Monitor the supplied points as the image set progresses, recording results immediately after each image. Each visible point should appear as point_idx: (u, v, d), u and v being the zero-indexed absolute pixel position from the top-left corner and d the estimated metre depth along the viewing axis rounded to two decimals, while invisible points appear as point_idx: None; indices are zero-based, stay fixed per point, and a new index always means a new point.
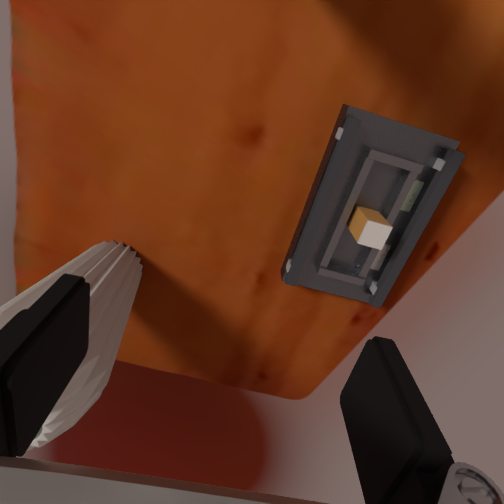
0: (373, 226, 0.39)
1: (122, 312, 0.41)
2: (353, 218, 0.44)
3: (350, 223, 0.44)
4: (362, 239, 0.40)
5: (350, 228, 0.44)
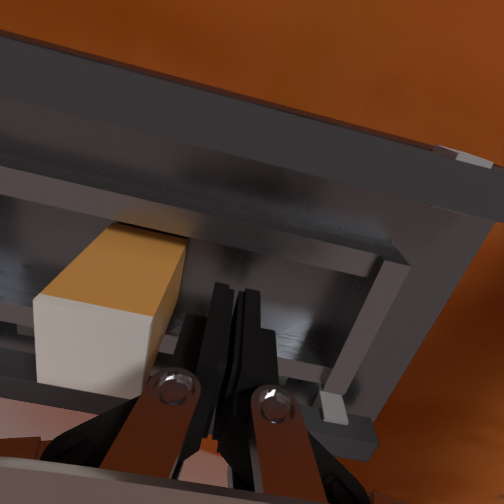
0: (128, 344, 0.09)
1: None
2: (142, 239, 0.13)
3: (123, 231, 0.13)
4: (59, 314, 0.09)
5: (105, 238, 0.12)
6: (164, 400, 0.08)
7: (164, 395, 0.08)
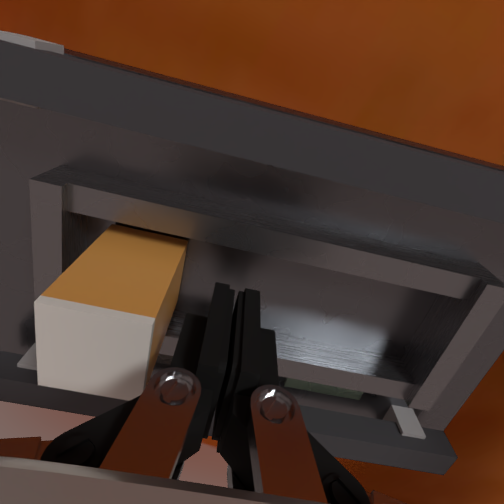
0: (130, 345, 0.09)
1: None
2: (142, 241, 0.13)
3: (123, 233, 0.13)
4: (61, 315, 0.09)
5: (105, 239, 0.12)
6: (164, 400, 0.08)
7: (164, 395, 0.08)
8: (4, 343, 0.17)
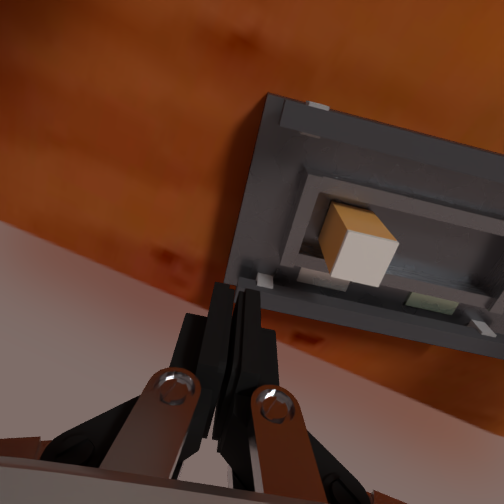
0: (384, 254, 0.20)
1: None
2: (354, 210, 0.23)
3: (342, 206, 0.23)
4: (358, 238, 0.19)
5: (338, 208, 0.23)
6: (164, 400, 0.08)
7: (164, 395, 0.08)
8: (235, 275, 0.27)
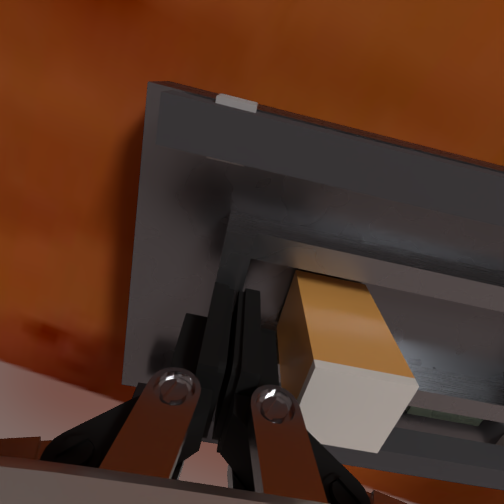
0: (389, 404, 0.10)
1: None
2: (333, 288, 0.13)
3: (312, 280, 0.14)
4: (335, 379, 0.09)
5: (305, 289, 0.13)
6: (164, 400, 0.08)
7: (164, 395, 0.08)
8: (139, 374, 0.17)
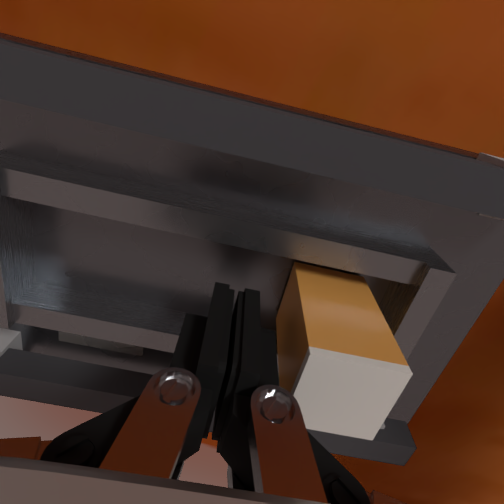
0: (384, 391, 0.10)
1: None
2: (331, 280, 0.13)
3: (311, 272, 0.14)
4: (330, 365, 0.10)
5: (303, 280, 0.13)
6: (164, 400, 0.08)
7: (164, 395, 0.08)
8: None
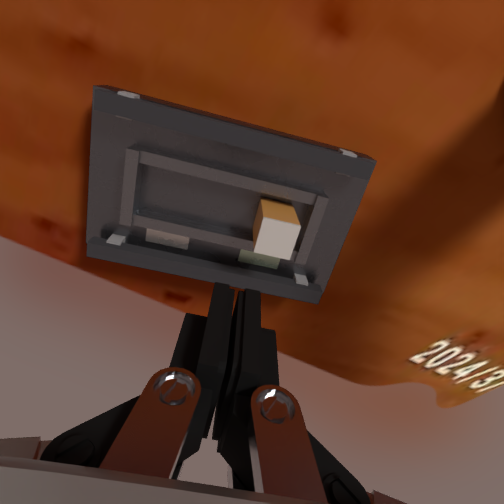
0: (291, 235, 0.27)
1: None
2: (276, 203, 0.30)
3: (268, 200, 0.30)
4: (271, 223, 0.26)
5: (264, 202, 0.30)
6: (164, 400, 0.08)
7: (164, 395, 0.08)
8: (95, 236, 0.33)
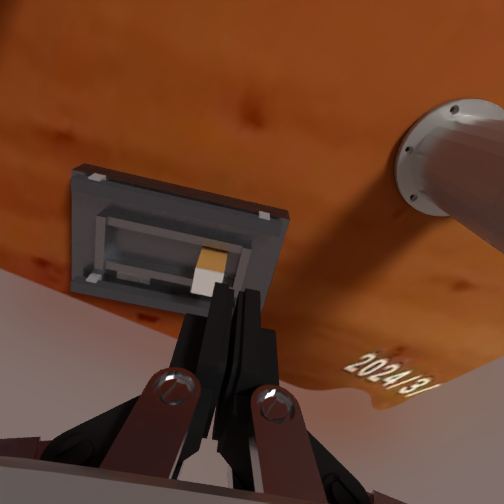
0: (217, 280, 0.36)
1: None
2: (213, 252, 0.39)
3: (207, 249, 0.40)
4: (201, 272, 0.35)
5: (203, 252, 0.39)
6: (164, 400, 0.08)
7: (164, 395, 0.08)
8: (78, 275, 0.42)
